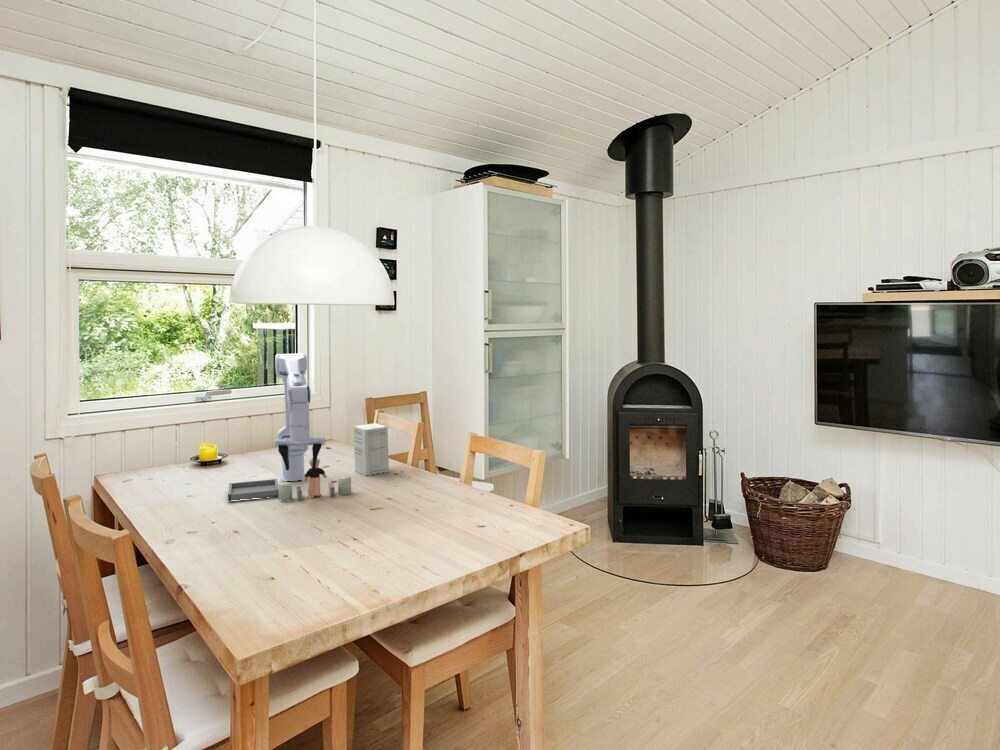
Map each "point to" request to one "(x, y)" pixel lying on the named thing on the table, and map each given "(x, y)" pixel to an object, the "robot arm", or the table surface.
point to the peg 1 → (344, 485)
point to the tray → (253, 489)
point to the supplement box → (371, 449)
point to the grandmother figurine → (314, 479)
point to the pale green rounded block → (285, 491)
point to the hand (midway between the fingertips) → (300, 468)
